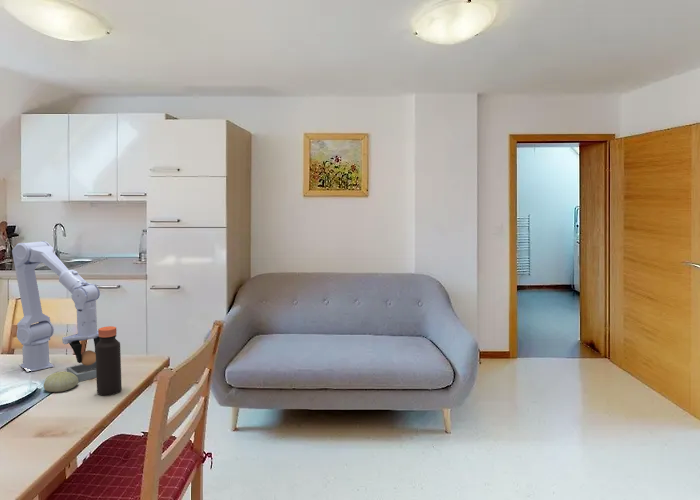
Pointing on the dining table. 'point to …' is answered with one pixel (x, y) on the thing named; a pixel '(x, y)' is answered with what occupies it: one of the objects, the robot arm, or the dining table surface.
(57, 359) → the dining table surface
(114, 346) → the bottle
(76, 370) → the corral
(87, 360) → the ball
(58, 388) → the sea urchin shell
